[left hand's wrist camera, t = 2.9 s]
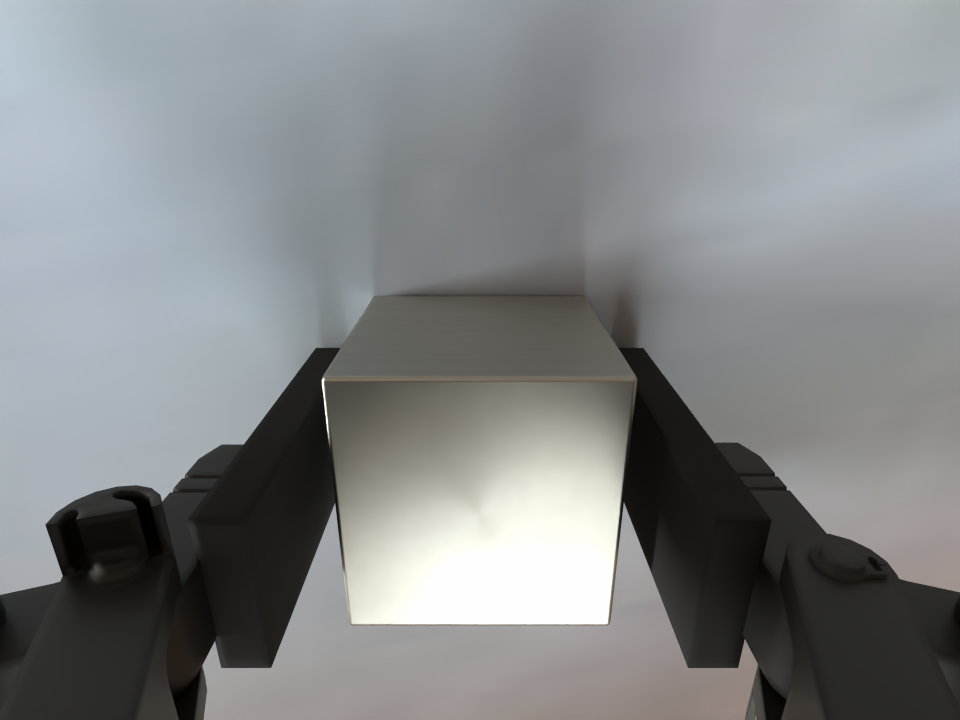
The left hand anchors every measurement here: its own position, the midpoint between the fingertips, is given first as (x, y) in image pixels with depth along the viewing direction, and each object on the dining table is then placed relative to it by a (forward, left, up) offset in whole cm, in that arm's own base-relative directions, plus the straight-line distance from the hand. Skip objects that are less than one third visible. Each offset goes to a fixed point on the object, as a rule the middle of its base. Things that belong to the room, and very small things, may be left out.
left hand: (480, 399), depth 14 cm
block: (0, 0, 0) cm, 0 cm away
